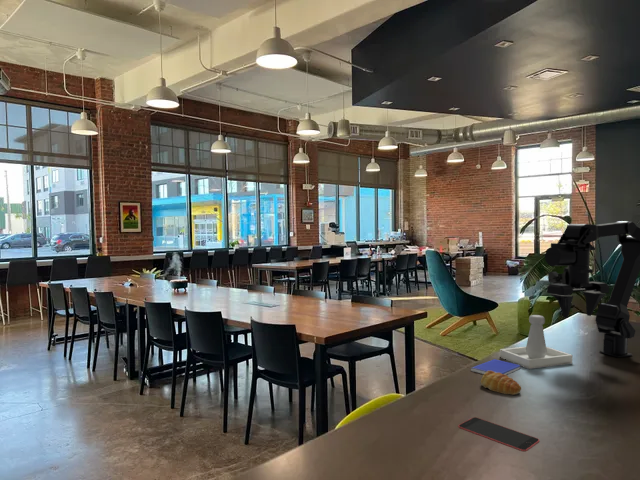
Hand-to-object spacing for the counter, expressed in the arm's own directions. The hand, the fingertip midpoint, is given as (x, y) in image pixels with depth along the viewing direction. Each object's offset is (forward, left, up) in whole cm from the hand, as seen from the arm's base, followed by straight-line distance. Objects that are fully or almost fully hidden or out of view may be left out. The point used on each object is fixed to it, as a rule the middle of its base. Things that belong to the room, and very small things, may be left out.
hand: (577, 316), depth 140 cm
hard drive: (+30, 0, -14) cm, 33 cm away
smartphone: (+57, +33, -14) cm, 67 cm away
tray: (+13, -3, -13) cm, 19 cm away
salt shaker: (+13, -3, -13) cm, 18 cm away
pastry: (+39, +13, -14) cm, 43 cm away
